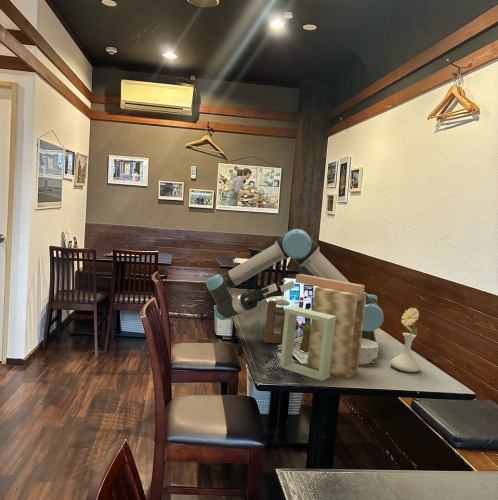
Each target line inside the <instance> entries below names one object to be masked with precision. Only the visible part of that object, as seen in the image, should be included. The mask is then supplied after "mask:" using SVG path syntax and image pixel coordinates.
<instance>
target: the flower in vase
mask: <svg viewBox="0 0 498 500" xmlns="http://www.w3.org/2000/svg"><path fill="white" fill-rule="evenodd" d="M419 316H420V313H419V310H418V309H417V308H416V307H414V308H413V307H410V308H408V309H407V310H404V313H403V314H402V316H401V320H400V322H401V324H403V327H405V328H406V329H407V330H408V331H409V332H410V333H409V332H403V333H402V336H403V339H404V349H403V352H402V353H400V354H398V355H397V356H395V357H393V358H392V359H391V360H390V365H391V366H392V367H393V368H394V369H397V370H400V371H403V372H410V373H413V372H419V371H420V370H421V369H422V366H421V364H420V363H419V361H418V360H417V359H416V358H415V357H414V356H413V355H412V353H411V352H412V351H411V349H412V343H413V341H414V339H415V338H416V337H417V336H418V328H415V323H416V321H418V320H419ZM412 325H413V328H411V327H410V326H412Z"/></svg>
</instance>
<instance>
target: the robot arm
mask: <svg viewBox="0 0 498 500" xmlns="http://www.w3.org/2000/svg"><path fill="white" fill-rule="evenodd" d="M289 258H291V259H292V260H293V261H294V262H295V263H296V264H297V266H299V267H305V268H306V269H307V270H308V271H309V272H310V273H311V274H312V276H316V277H321V278H327V279H332V280H338V281H343V282H349V283H351V282H350V281H349V280H348V279H347V278H346V277H345V276H344V275H343V274H342V272H340V271H339V270H338V269H337V268H336V267H335V266H334V265H333V264H332V263H331V262H330V261H329V260H328V259H327V258H326V257H325V256H324V255H323V254H322V253H321V252H320V246H319V245H318V243H316V242H315V240H314V239H312V238H311V236H310V235H309V234H308V233H307V231H305V230H303V229H301V228H292V229H289V230H288V232H286V233H285V234H284V235H283V236H281V237H280V238H279V239H276V240H275V242H274V244H273V245H271V246H269V247H268V248H266V249H264V250H262V251H261V252H259V253H257V254H256V255H253V256H252V257H251V258H248V259H247V260H245V261H243V262H242V263H240V264H239V265H237V266H235V267H233V268H232V269H230V270H228V271H227V272H224V273H223V274H219V273H218V274H215V275H213V276H210V277H209V278H207V279H206V280H205V284H206V287H207V290H208V292H209V293H210V295H211V296H212V300H214V302H215V304H216V305H215V306H214V309H213V310H214V314H215V316H216V318H217V319H219V320H221V321H225V320H228V319H232V318H233V317H236V316H238V315H240V314H242V315H244V314H245V312H247V311H251V310H253V309H255V308H257V307H258V302H260V303H261V302H263V301H265V300H267V299H269V298H272V297H274V296H278V295H280V294H282V293H285V292H286V291H289V290H291V289H294V288H296V285H295V282H294V280H291V281H289V282H285V283H284V285H283V284H282V285H281V284H279V286H278V287H277V284H276V283H273V284H269V285H267V286H265V287H263V288H261V289H258V290H254V291H250V290H247V291H245V292H243V293H239V294H238V295H236V296H234V297H233V296H232V294H231V292H230V290H231V289H232V288H235V287H236V286H238V285H240V284H241V283H243V282H245V281H246V280H248V279H250V278H252V277H253V276H255V275H257V274H259V273H260V272H262V271H264V270H266V269H267V268H270V267H271V266H273V265H274V264H276V263H278V262H280V261H281V260H283V259H284V260H288V259H289ZM384 318H385V317H384V311H383V309H382V308H381V306H379V305H378V296H377V295H375V294H369V293H367V296H366V305H365V313H364V322H363V331H362V338H364V339H368V340H372V341H374V342H376V343H377V339H376V334H375V331H376V330H379V328H381V326H382V324H383V323H384Z"/></svg>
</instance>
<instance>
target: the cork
mask: <svg viewBox="0 0 498 500" xmlns="http://www.w3.org/2000/svg"><path fill="white" fill-rule="evenodd" d="M310 330H311V324H304V325H303V326H302V332H303V333H302V337H301V342H300V346H299V349H300V350H302V351H304V352H308V349H309V340H310ZM300 350H299V351H300Z"/></svg>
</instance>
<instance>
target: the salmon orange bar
mask: <svg viewBox="0 0 498 500" xmlns="http://www.w3.org/2000/svg"><path fill="white" fill-rule="evenodd" d="M349 282H350V281H349ZM349 282H343V281H338V280H332V279H327V278H321V277H316V276H314V275H308V274H305V273H304V274H303V273H298V274H296V275H295V283H298V284H302V285H308V286H312V287H322V288H327V289H332V290H337V291H342V292H348V293H353V294H358V295H361V294H364V292H365V288H366V287H365V285H364V284H359V283H353V282H350V283H349Z"/></svg>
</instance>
